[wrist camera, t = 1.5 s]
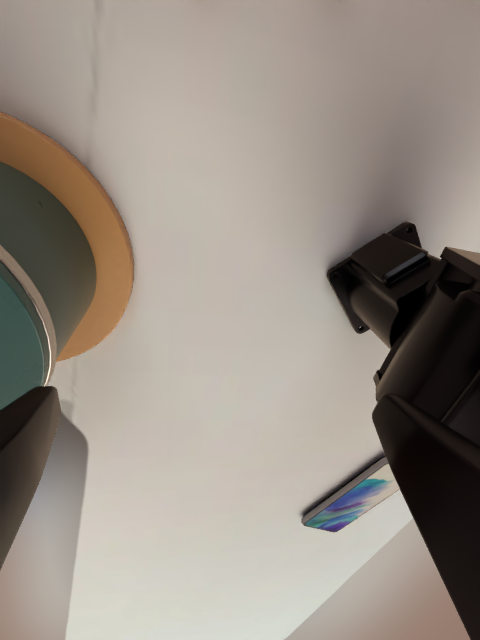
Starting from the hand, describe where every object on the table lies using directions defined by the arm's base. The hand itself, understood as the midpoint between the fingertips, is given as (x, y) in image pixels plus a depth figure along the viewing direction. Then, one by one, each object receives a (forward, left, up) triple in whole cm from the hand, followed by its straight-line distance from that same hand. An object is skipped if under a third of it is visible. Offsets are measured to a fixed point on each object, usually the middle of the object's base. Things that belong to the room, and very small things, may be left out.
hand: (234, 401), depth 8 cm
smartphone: (-36, +3, -13) cm, 39 cm away
